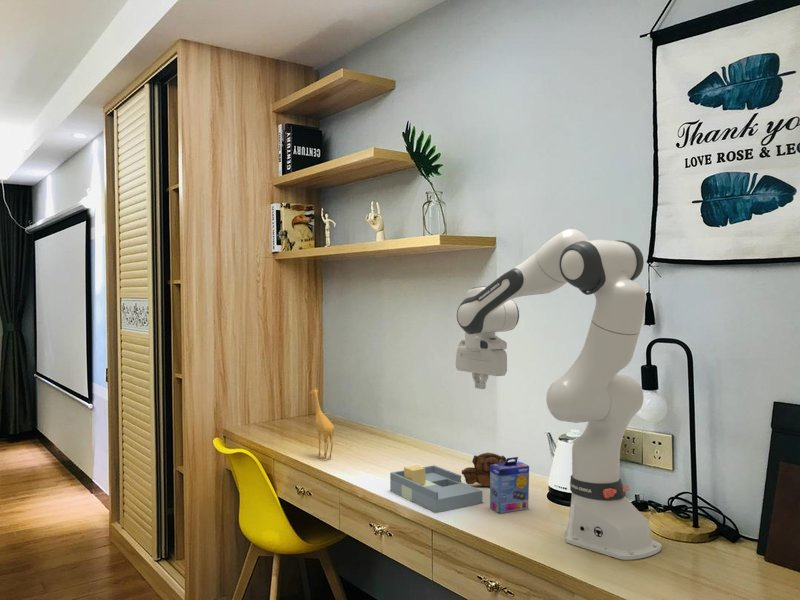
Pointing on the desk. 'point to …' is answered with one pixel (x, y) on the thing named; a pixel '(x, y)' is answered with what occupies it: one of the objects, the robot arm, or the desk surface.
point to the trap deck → (436, 490)
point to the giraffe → (323, 424)
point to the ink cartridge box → (509, 486)
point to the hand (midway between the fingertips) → (480, 388)
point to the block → (415, 474)
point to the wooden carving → (482, 468)
